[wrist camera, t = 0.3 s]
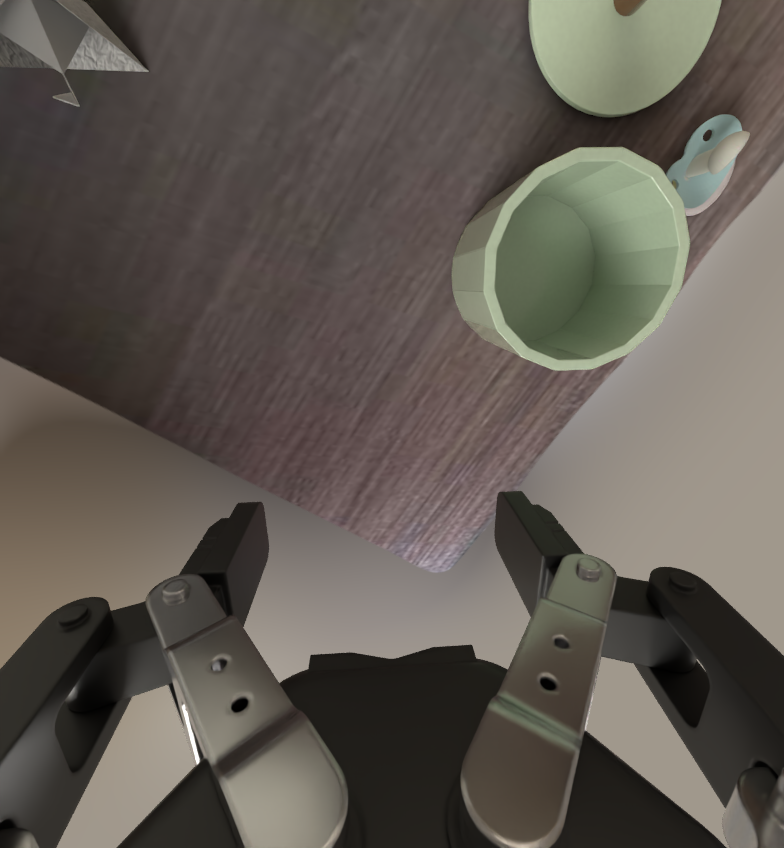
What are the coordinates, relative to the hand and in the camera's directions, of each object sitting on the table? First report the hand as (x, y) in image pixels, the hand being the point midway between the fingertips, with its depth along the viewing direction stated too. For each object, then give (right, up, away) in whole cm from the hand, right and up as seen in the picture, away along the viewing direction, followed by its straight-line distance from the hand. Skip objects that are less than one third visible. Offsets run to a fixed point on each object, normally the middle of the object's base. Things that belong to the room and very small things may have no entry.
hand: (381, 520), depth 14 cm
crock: (+13, +18, +25) cm, 34 cm away
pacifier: (+28, +26, +24) cm, 45 cm away
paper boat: (-25, +31, +18) cm, 44 cm away
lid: (+19, +37, +18) cm, 45 cm away
